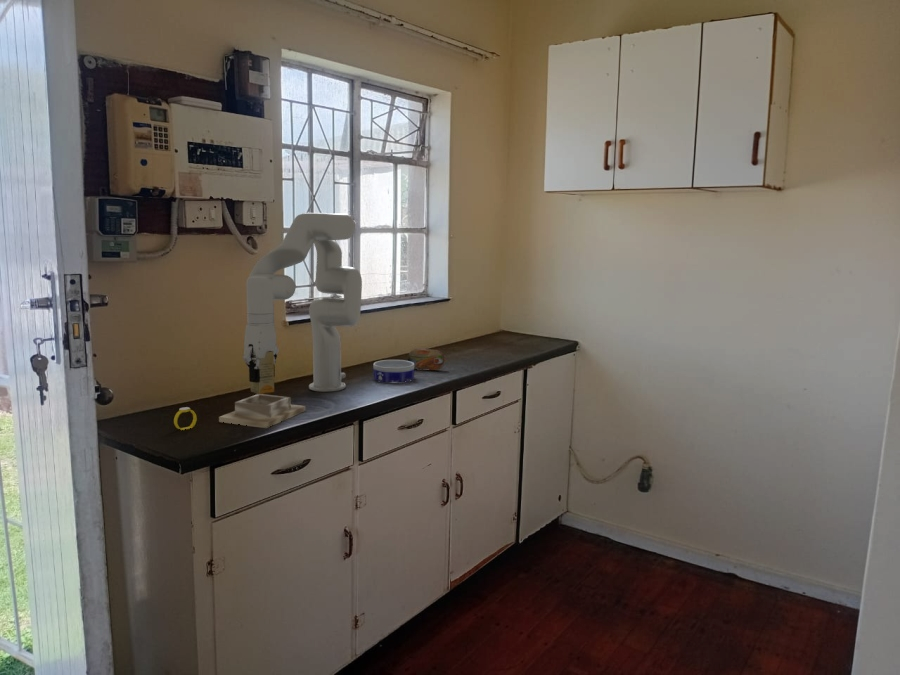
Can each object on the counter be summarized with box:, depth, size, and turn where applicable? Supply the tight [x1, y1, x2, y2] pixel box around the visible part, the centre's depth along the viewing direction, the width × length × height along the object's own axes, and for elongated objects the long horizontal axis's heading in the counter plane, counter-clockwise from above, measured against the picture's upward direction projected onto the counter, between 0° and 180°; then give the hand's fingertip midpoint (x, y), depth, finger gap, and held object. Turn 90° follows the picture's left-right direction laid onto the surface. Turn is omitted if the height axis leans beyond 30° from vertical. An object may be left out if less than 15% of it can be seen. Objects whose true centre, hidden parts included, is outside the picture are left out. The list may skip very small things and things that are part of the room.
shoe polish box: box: [250, 351, 275, 394], centre depth 199 cm, size 5×5×12 cm
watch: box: [173, 406, 198, 431], centre depth 187 cm, size 6×3×6 cm, turn 139°
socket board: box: [218, 393, 306, 429], centre depth 201 cm, size 20×16×5 cm
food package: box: [406, 348, 446, 371], centre depth 271 cm, size 15×3×8 cm, turn 76°
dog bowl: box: [372, 359, 415, 383], centre depth 254 cm, size 15×15×6 cm
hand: (262, 379), depth 200 cm, fingers closed on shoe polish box, 6 cm apart
